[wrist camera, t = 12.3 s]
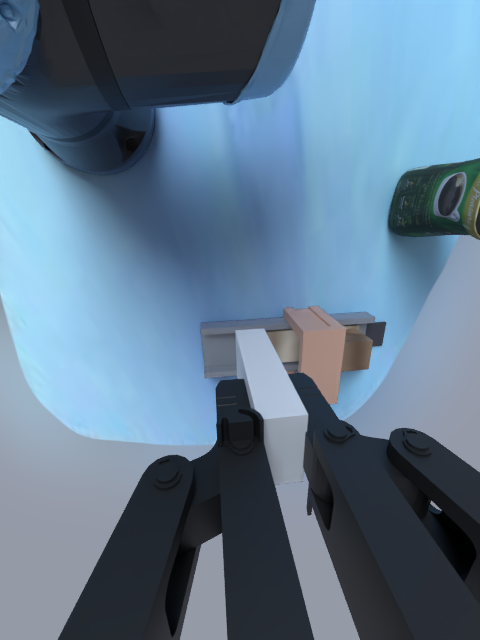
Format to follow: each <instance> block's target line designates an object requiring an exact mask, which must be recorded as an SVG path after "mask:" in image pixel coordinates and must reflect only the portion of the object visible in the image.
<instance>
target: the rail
mask: <svg viewBox="0 0 480 640" xmlns="http://www.w3.org/2000/svg"><path fill="white" fill-rule="evenodd" d="M329 315H330V316H331V317H332V318H334V319H335V320H336V321H337V322H339V323H340V324H341V325H351V324H358V325H359V331H360V332H362V333H363V334H365V333H366V326H367V323H374V322H375V317H374V316H372V315H370V314H369V313H367V312H356V313H341V314H329ZM263 328H264V329H265V331H266V330H280V329H292V328H291V326H290V325H289V324H288V322H287V321H286V320H285V319H284V317H281V318H266V319H251V320H236V321H221V322H206V323H201V335H202V344H203V356H204V375H205V378H215V377H226V376H237V361H236V334H235V330H248V329H263ZM282 364H283V366H284V368H285V370H286V371H296V370H298V365H299V361H296V362H284V363H282Z"/></svg>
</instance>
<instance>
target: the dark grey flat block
mask: <svg viewBox="0 0 480 640" xmlns="http://www.w3.org/2000/svg"><path fill="white" fill-rule="evenodd" d="M385 326H386V322H377V323H367V326H366V333H365V335H366V336H367V337H369V338H370V339H371V340H373V344H372V346H381V345H382V343H383V337H384V332H385Z"/></svg>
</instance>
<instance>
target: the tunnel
mask: <svg viewBox="0 0 480 640" xmlns="http://www.w3.org/2000/svg"><path fill="white" fill-rule="evenodd" d="M283 317H284V319H285V320H286V321H287V322H288V324H289V325H290V326H291V328H292V329H293V330H294V332H295V333H296V334H297V336H298V337H299V338H300V348H299V365H298V373H305V374H306V375H307V376H309V377H310V378H312V379H313V381H314V382H315V384H316V385H317V387H318V388H319V390H320V391H321V393H322V395H323V396H324V397H325V399H326V401H327V402H328V404H337V399H338V391H339V383H340V375H341V368H342V360H343V352H344V344H345V336H346V328H345V327H344V326H342V325H341V324H340V323H339V322H337V321H336V320H335V319H334V318H332V317H331V316H330V315H329V314H327V313H326V312H325V311H324V310H322V309H321V308H320V307H319V306H309V308H308V309H294V308H293V307H290V308H283ZM286 372H287V374H292V373H296V372H295V371H286Z"/></svg>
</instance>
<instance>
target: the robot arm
mask: <svg viewBox="0 0 480 640" xmlns="http://www.w3.org/2000/svg"><path fill="white" fill-rule="evenodd" d="M315 3H316V0H0V115H1V116H3V117H5V118H7V119H9V120H11V121H13V122H15V123H17V124H19V125H21V126H23V127H25V128H27V129H28V131H29V132H30V133H31V134H32V136H33V137H34V138H35V139H36V141H37V142H38V143H39V144H40V145H41V146H42V147H43V148H44V149H45V150H46V151H48V152H49V153H50V154H51V155H53V156H54V157H55V158H57V159H58V160H60V161H61V162H63V163H65V164H67V165H69V166H71V167H73V168H76V169H78V170H81V171H84V172H87V173H91V174H98V175H109V174H115V173H119V172H121V171H124V170H126V169H128V168H129V167H131V166H132V165H134V164H135V163H136V162H137V161H138V160H139V159H140V158H141V157H142V156H143V154H144V153H145V151H146V150H147V148H148V146H149V143H150V141H151V138H152V134H153V130H154V123H155V109H154V108H164V107H175V106H186V105H198V104H209V103H220V102H223V103H224V104H225V105H234V104H236V103H238V102H240V101H241V100H248V99H255V98H262V97H267V96H269V95H271V94H272V93H273V92H274V91H276V90H277V89H278V88H279V87H281V86H282V85H283V84H284V82H285V81H286V80H287V78H288V76H289V75H290V73H291V71H292V70H293V68H294V66H295V63H296V61H297V59H298V57H299V54H300V52H301V49H302V46H303V44H304V41H305V38H306V35H307V31H308V28H309V25H310V21H311V18H312V14H313V10H314V6H315ZM235 334H236V361H237V378H238V379H233V380H222V381H220V382H219V384H218V385H217V387H216V408H217V424H216V427H217V441H216V444H215V445H214V447H213V448H212V449H211V450H210V451H209V452H208V453H207V454H205V455H203V456H201V457H199V458H197V459H195V460H192V461H189V460H187V459H186V458H185V457H182V456H179V455H168V456H165V457H162V458H160V459H157V460H156V461H155V462H153V463H152V464H151V465H149V466H148V468H147V470H146V471H145V472H144V473H143V475H142V477H141V479H140V481H139V483H138V485H137V487H136V489H135V490H134V492H133V494H132V496H131V498H130V500H129V502H128V504H127V506H126V508H125V510H124V512H123V514H122V516H121V518H120V520H119V522H118V523H117V525H116V528H115V529H114V531H113V533H112V535H111V537H110V539H109V541H108V543H107V545H106V547H105V549H104V551H103V553H102V555H101V557H100V559H99V560H98V562H97V564H96V566H95V568H94V570H93V572H92V574H91V576H90V578H89V580H88V582H87V584H86V586H85V588H84V590H83V592H82V593H81V595H80V597H79V599H78V601H77V603H76V605H75V607H74V609H73V611H72V613H71V615H70V617H69V619H68V621H67V623H66V625H65V626H64V629H63V631H62V632H61V634H60V636H59V638H58V640H180V636H181V631H182V627H183V623H184V618H185V613H186V609H187V604H188V601H189V596H190V592H191V587H192V583H193V578H194V574H195V570H196V565H197V561H198V556H199V552H200V548H201V544H203V543H204V542H206V541H208V540H210V539H212V538H213V537H215V536H217V535H219V534H221V533H222V537H223V558H224V577H225V595H226V596H225V597H226V617H227V636H228V640H314V637H313V634H312V629H311V625H310V622H309V617H308V614H307V610H306V606H305V602H304V598H303V594H302V590H301V586H300V583H299V579H298V574H297V570H296V567H295V563H294V559H293V555H292V551H291V547H290V544H289V539H288V535H287V531H286V527H285V524H284V520H283V516H282V512H281V508H280V504H279V500H278V496H277V492H276V488H275V485H280V484H288V483H296V482H303V474H304V471H305V473H306V476H307V478H308V481H309V488H308V498H307V514H308V515H311V512H312V507H313V510H314V513H315V516H316V518H317V521H318V524H319V527H320V530H321V532H322V535H323V538H324V540H325V543H326V546H327V549H328V552H329V554H330V557H331V560H332V562H333V565H334V568H335V571H336V574H337V577H338V579H339V582H340V585H341V588H342V590H343V593H344V596H345V599H346V601H347V604H348V607H349V610H350V613H351V615H352V618H353V621H354V624H355V626H356V629H357V632H358V635H359V638H360V640H480V472H478V471H477V470H475V469H474V468H473V467H471V466H470V465H469V464H467V463H466V462H464V461H463V460H462V459H461V458H459V457H458V456H456V455H455V454H453V453H452V452H451V451H450V450H448V449H447V448H446V447H444V446H443V445H441V444H440V443H439V442H437V441H436V440H435V439H433V438H432V437H430V436H428V435H426V434H425V433H423V432H420V431H417V430H414V429H408V428H399V429H395V430H394V431H392V432H391V434H390V438H389V440H386V439H379V438H372V437H366V436H362V435H360V434H359V432H358V431H357V430H356V429H355V428H354V427H353V426H352V425H350V424H348V423H347V422H345V421H342V420H339V419H338V417H337V416H336V414H335V413H334V411H333V410H332V408H331V407H330V405H329V404H328V402H327V401H326V399H325V397H324V396H323V395H322V393H321V391H320V390H319V388H318V387H317V385H316V384H315V382H314V381H313V379H312V378H310V377H309V376H307V375H306V374H305V373H292V374H287V372H286V370H285V368H284V366H283V364H282V362H281V360H280V358H279V357H278V355H277V353H276V351H275V349H274V347H273V345H272V343H271V341H270V339H269V337H268V335H267V333H266V331H265V329H264V328H263V329H248V330H235ZM431 500H432V501H433V502H434V503H435V504H436V505H437V506H438V507H439V508H440V509H441V510H442V511H440V510H438V509H436V508H435V507H433V506H432V505H431V504H430V503H431Z"/></svg>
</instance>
